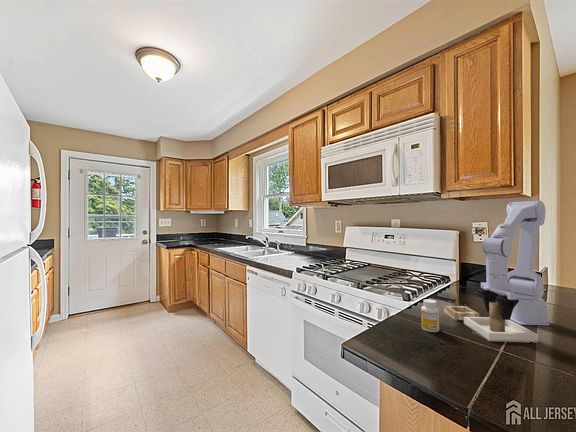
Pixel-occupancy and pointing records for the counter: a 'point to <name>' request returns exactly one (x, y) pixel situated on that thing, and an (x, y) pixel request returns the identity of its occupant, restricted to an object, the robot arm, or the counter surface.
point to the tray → (511, 333)
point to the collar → (460, 312)
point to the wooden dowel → (496, 318)
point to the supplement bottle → (430, 316)
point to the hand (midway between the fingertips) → (497, 315)
